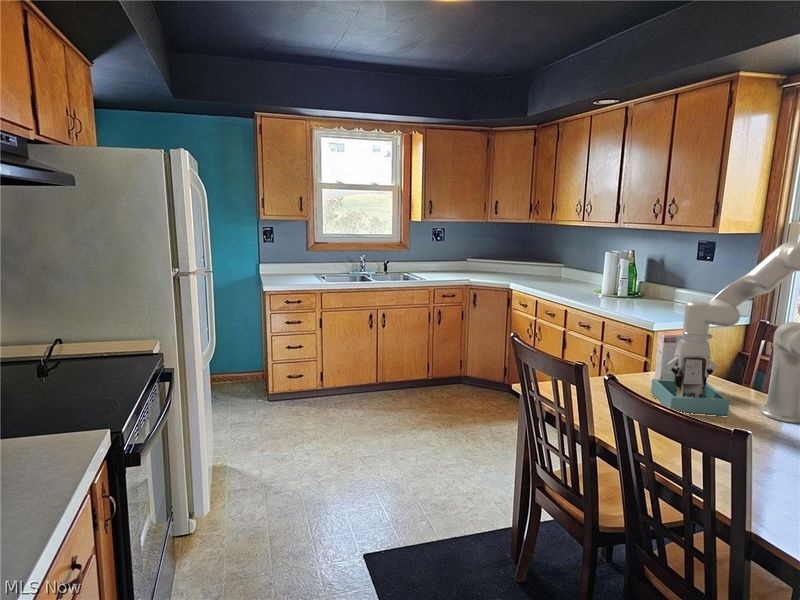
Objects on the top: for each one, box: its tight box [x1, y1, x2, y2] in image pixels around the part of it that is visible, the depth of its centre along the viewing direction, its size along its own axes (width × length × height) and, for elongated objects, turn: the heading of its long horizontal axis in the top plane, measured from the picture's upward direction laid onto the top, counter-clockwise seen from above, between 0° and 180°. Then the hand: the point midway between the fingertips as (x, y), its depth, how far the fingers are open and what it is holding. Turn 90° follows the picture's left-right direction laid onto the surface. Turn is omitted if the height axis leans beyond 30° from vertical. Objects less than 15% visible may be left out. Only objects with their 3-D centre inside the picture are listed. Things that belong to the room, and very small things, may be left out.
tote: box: [650, 378, 731, 417], centre depth 173 cm, size 18×18×6 cm
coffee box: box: [676, 358, 707, 398], centre depth 171 cm, size 9×6×16 cm
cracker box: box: [654, 331, 683, 380], centre depth 191 cm, size 14×6×21 cm, turn 84°
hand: (689, 386), depth 172 cm, fingers closed on coffee box, 7 cm apart
